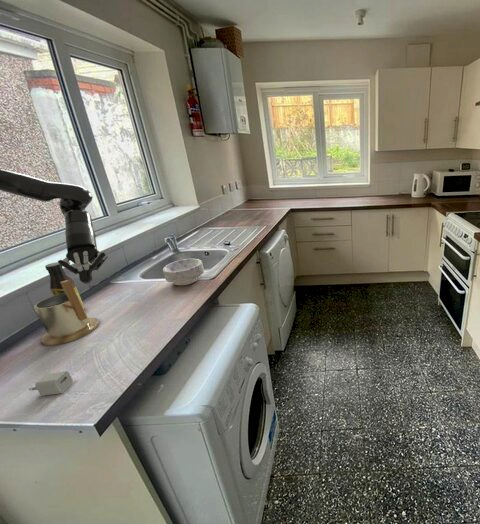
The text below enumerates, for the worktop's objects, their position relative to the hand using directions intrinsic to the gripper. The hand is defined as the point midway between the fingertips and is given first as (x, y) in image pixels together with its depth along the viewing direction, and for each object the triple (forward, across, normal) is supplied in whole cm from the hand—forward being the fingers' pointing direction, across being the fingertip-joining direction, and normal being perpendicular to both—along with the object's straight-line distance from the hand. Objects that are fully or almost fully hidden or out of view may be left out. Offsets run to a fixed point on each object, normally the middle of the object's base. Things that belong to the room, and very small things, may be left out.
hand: (86, 282), depth 94 cm
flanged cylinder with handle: (+13, -6, +7) cm, 16 cm away
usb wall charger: (+34, -5, -13) cm, 37 cm away
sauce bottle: (+2, -10, +19) cm, 22 cm away
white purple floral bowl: (-3, +27, +24) cm, 36 cm away
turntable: (+12, -8, +9) cm, 17 cm away
